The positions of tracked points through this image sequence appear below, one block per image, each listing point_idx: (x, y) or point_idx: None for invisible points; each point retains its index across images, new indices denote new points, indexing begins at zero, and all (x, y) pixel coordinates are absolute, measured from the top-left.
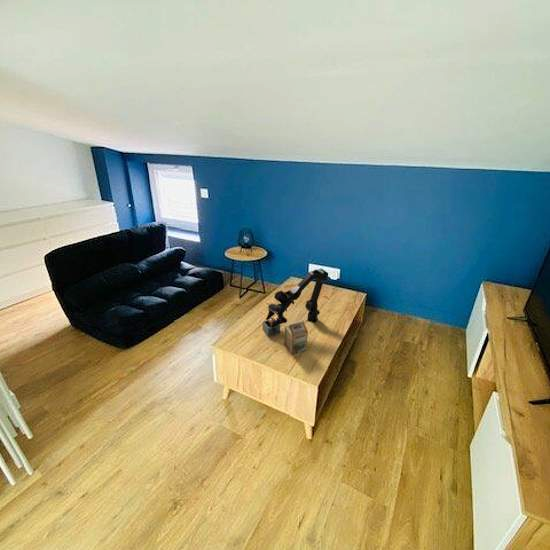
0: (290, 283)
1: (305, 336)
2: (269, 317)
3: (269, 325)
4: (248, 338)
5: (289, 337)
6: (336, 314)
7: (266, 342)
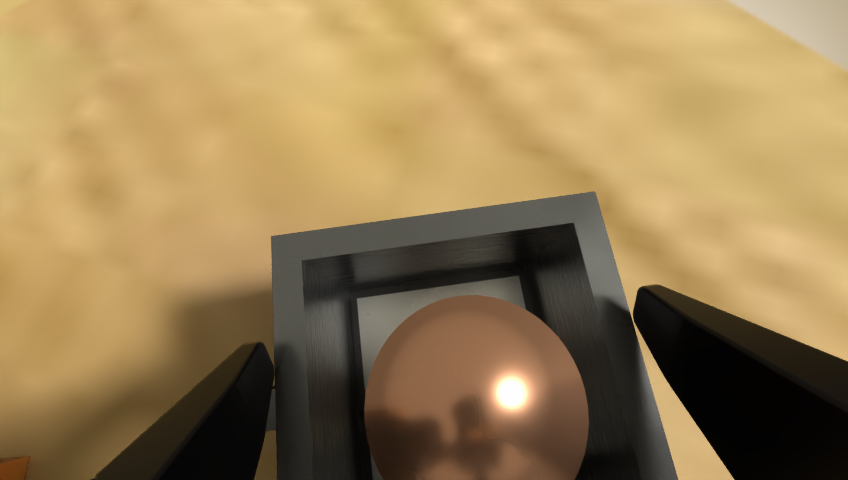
0: None
1: None
2: (712, 407)
3: None
4: (387, 37)
5: None
6: None
7: (216, 215)
